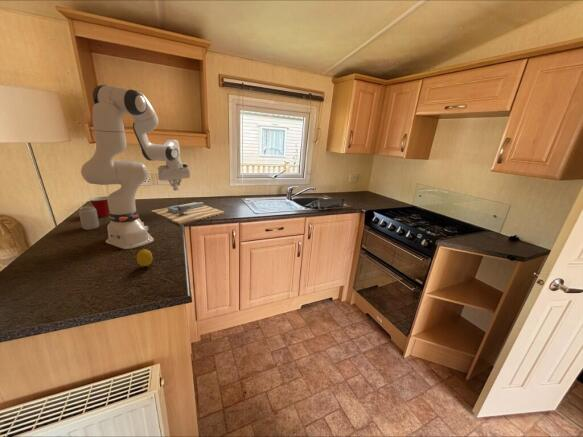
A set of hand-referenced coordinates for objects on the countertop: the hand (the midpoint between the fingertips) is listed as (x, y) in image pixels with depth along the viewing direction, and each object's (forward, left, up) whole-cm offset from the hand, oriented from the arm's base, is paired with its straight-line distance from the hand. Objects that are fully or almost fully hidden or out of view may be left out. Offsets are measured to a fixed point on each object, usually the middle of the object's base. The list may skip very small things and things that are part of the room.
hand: (175, 185), depth 162 cm
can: (+7, +47, -19) cm, 51 cm away
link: (0, -8, -17) cm, 19 cm away
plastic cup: (+25, +35, -19) cm, 47 cm away
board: (-5, -5, -19) cm, 20 cm away
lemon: (-56, +48, -19) cm, 76 cm away
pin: (0, 0, -3) cm, 3 cm away
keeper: (-9, +1, -18) cm, 20 cm away
